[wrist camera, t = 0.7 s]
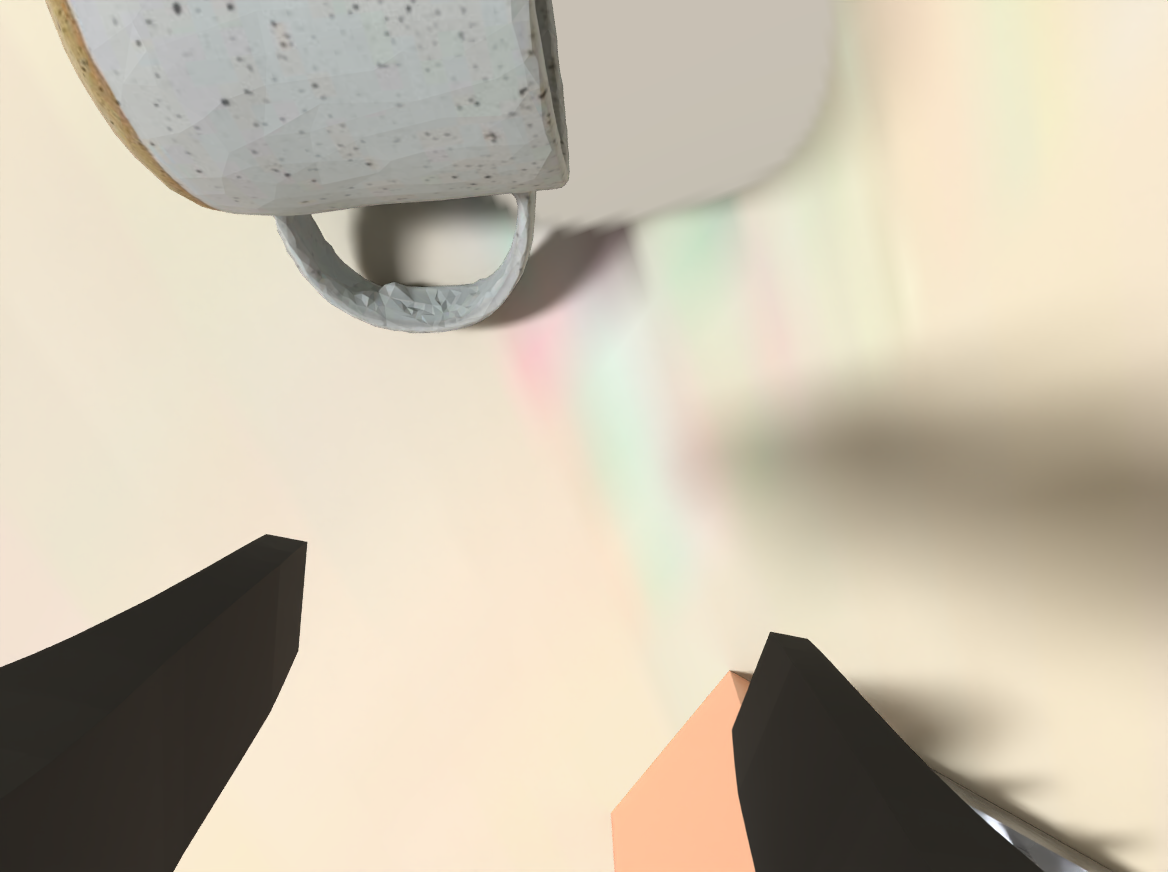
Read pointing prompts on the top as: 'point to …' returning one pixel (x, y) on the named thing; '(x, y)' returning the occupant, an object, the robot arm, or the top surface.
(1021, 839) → the pegged metal rack
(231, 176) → the ceramic mug
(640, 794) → the peach brick
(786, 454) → the top surface
